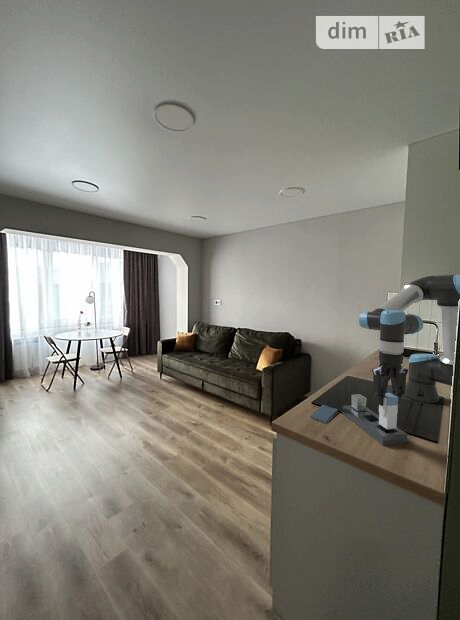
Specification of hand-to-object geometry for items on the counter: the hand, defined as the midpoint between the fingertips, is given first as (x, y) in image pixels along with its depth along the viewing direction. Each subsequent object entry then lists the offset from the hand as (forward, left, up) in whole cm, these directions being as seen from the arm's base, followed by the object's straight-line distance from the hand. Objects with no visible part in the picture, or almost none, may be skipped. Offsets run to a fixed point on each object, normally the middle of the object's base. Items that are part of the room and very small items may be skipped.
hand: (388, 412), depth 94 cm
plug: (0, 0, -5) cm, 5 cm away
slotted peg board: (0, -8, -10) cm, 12 cm away
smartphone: (+14, -20, -10) cm, 27 cm away
